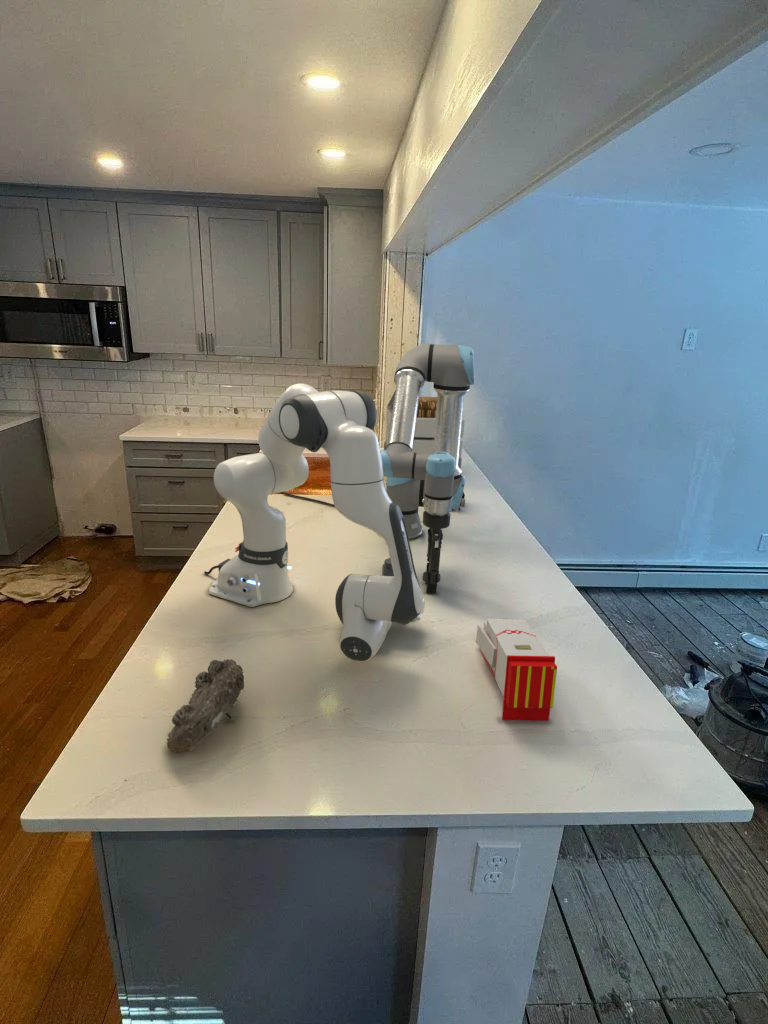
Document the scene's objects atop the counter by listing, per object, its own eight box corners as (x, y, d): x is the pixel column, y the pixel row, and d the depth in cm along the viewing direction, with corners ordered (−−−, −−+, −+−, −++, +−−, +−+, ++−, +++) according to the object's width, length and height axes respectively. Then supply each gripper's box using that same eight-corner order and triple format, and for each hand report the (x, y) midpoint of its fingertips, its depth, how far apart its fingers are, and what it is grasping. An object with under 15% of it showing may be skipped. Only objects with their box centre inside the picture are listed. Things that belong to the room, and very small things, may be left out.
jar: (380, 608, 150) (383, 556, 145) (397, 609, 150) (400, 557, 145) (379, 616, 146) (382, 564, 141) (397, 617, 146) (400, 565, 141)
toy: (523, 604, 135) (566, 662, 106) (518, 656, 138) (559, 727, 109) (472, 603, 135) (501, 661, 105) (468, 655, 138) (496, 726, 108)
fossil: (192, 660, 117) (244, 628, 112) (224, 691, 120) (276, 661, 115) (142, 746, 98) (202, 712, 93) (182, 779, 101) (242, 748, 96)
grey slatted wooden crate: (382, 463, 289) (386, 382, 275) (445, 464, 293) (451, 384, 279) (390, 482, 257) (394, 392, 243) (460, 483, 261) (468, 394, 247)
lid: (444, 580, 161) (444, 575, 160) (431, 585, 158) (431, 580, 157) (431, 574, 164) (431, 569, 164) (418, 578, 161) (419, 573, 161)
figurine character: (465, 515, 224) (460, 499, 237) (467, 498, 221) (462, 483, 234) (448, 515, 224) (444, 499, 237) (450, 498, 220) (445, 482, 234)
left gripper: (419, 609, 130) (431, 583, 143) (336, 595, 135) (353, 571, 148) (418, 633, 133) (429, 605, 145) (335, 618, 137) (353, 593, 150)
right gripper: (421, 500, 163) (416, 574, 170) (424, 522, 146) (418, 602, 153) (447, 501, 163) (441, 575, 170) (454, 523, 146) (446, 604, 153)
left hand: (390, 588), depth 147 cm, fingers closed on jar, 4 cm apart
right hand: (430, 588), depth 162 cm, fingers closed on lid, 5 cm apart
